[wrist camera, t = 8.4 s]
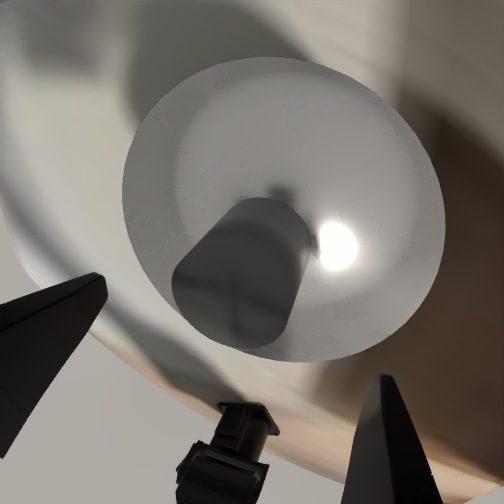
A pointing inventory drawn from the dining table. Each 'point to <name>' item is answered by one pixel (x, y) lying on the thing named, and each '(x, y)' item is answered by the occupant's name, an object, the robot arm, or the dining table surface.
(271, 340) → the lid
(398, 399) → the robot arm
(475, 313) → the dining table surface
